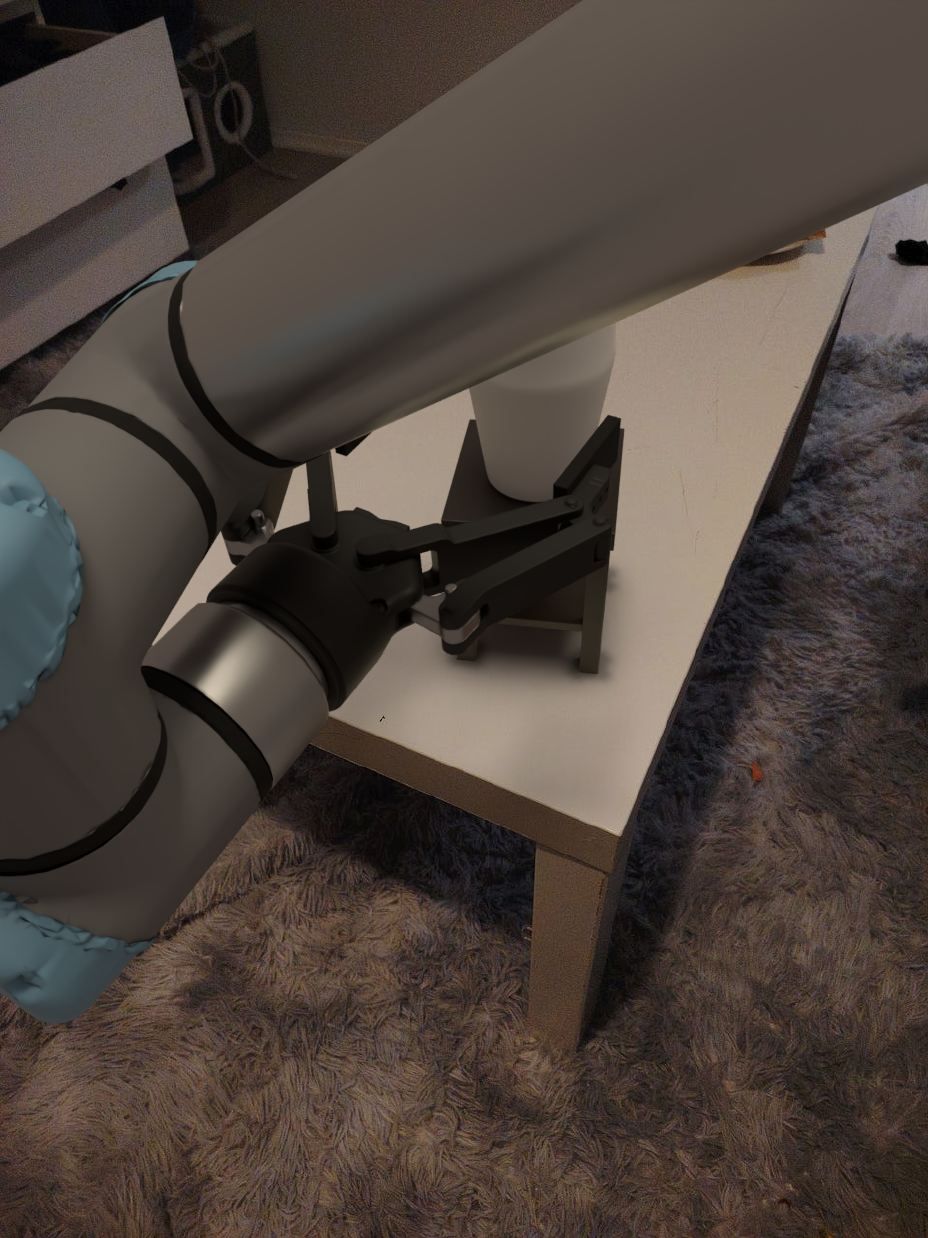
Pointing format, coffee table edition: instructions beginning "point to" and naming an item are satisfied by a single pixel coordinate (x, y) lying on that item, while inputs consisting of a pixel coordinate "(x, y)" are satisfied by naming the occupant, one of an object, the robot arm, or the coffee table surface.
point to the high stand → (564, 608)
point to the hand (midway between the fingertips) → (502, 404)
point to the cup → (543, 414)
